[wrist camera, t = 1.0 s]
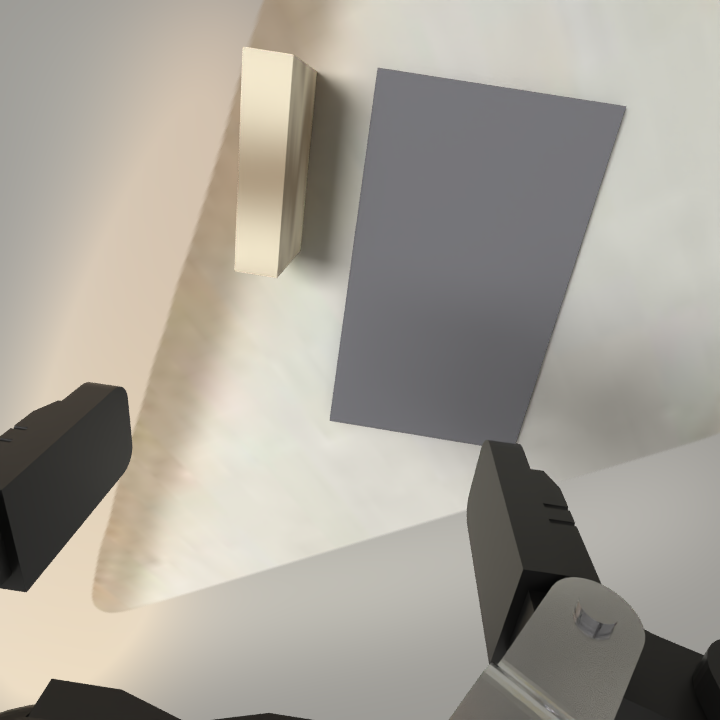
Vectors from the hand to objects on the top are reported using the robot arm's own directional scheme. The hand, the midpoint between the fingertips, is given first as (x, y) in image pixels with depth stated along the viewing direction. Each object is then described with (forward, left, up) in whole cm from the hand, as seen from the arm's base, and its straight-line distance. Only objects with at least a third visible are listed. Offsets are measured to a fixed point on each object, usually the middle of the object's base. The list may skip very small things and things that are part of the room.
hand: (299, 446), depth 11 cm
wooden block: (-4, -5, -19) cm, 20 cm away
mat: (+1, +5, -19) cm, 20 cm away
